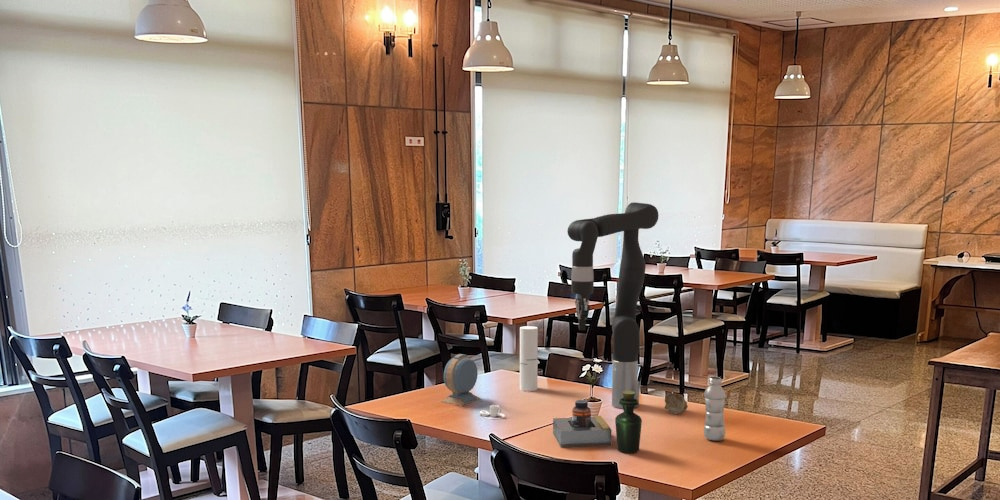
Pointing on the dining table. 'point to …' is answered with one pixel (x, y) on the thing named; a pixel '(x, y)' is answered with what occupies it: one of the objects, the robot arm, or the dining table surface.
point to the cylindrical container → (528, 358)
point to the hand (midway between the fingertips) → (582, 329)
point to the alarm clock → (460, 380)
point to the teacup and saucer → (492, 412)
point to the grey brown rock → (675, 403)
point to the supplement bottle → (581, 414)
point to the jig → (582, 433)
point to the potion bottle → (628, 425)
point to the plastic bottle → (714, 410)
